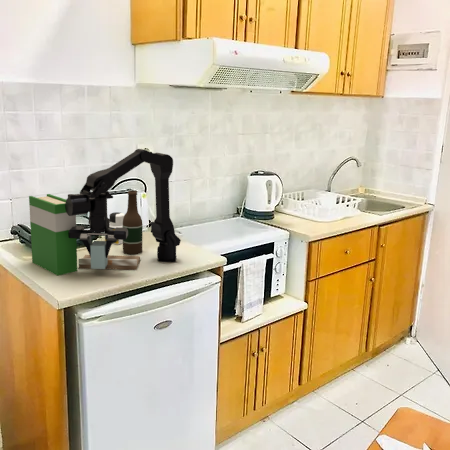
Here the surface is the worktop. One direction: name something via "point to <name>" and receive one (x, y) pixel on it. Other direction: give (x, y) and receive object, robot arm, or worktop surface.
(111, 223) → the medicine bottle
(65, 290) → the worktop surface
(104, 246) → the product carton
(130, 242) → the beer bottle
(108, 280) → the worktop surface
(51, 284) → the worktop surface
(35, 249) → the hardback book
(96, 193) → the robot arm
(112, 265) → the shelf board
